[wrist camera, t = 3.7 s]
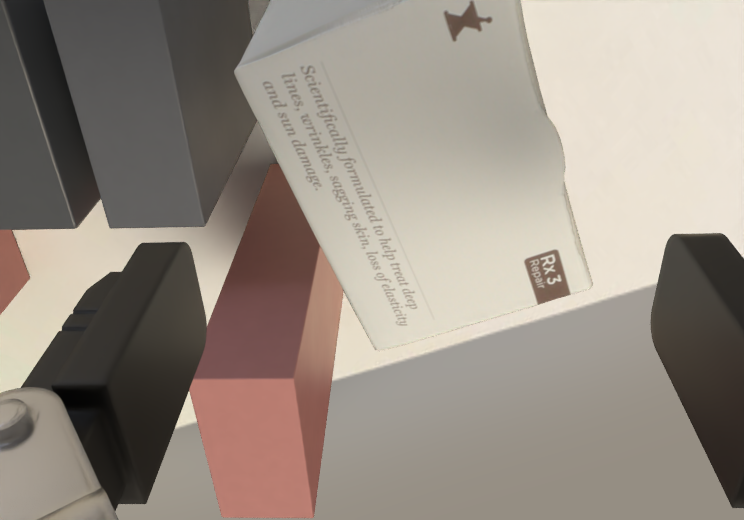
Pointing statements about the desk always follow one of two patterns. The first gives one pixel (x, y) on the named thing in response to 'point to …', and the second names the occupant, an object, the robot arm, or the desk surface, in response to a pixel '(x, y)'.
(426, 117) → the cosmetic box
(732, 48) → the desk surface
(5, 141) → the grey book
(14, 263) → the rose book
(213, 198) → the grey book
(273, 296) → the rose book
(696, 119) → the desk surface
